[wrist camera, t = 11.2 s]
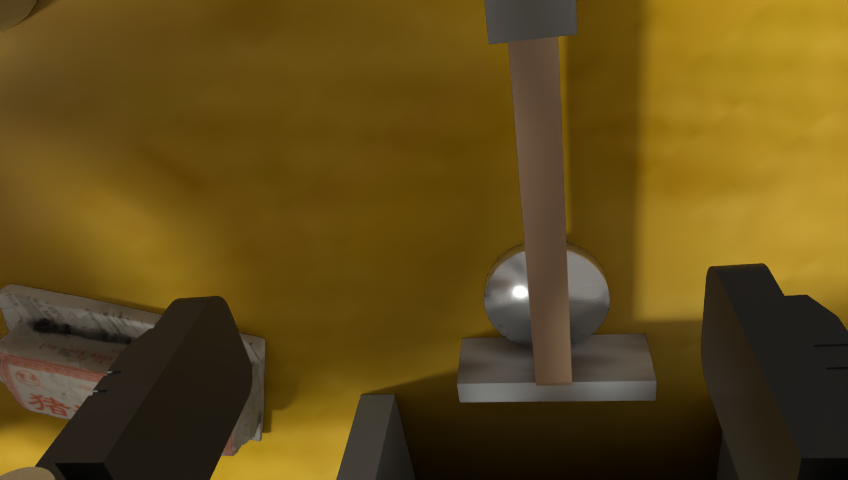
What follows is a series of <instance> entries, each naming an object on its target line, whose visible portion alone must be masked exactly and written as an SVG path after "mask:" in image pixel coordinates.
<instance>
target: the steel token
mask: <svg viewBox="0 0 848 480" xmlns="http://www.w3.org/2000/svg"><path fill="white" fill-rule="evenodd" d="M566 245H567V270H568V295H569V319H570V344H571V345H574V344H577V343H579V342H581V341H583V340H585V339H586V338H588V337H589V336H591V335H592V334H593V333H594V332H595V331H596V330H597V329H598V328H599V327H600V326H601V325H602V323H603V322H604V320H605V318H606V316H607V313H608V310H609V305H610V297H609V290H608V284H607V279H606V276H605V273H604V271H603V269H602V267H601V265H600V264H599V263H598V261H597V260H596V259H595V258H594V257H593V256H592V255H591V254H589V253H588V252H587V251H585V250H584V249H582V248H580V247H578V246H576V245H574V244H571V243H568V242H566ZM484 303H485V309H486V313H487V315H488V318H489V320H490V321H491V323H492V325H493V326H494V327H495V328H496V329H497V330H498V331H499V332H500V333H501V334H502V335H503V336H505V337H506V338H508V339H509V340H511V341H513V342H515V343H517V344H520V345H523V346H526V347H530V348H533V343H532V331H531V318H530V306H529V294H528V281H527V269H526V257H525V244H524V243H522V244H520V245H517V246H515V247H513V248H511V249H509V250H508V251H506V252H505V253H503V254H502V255H501V256H500V257H499V258H498V259H497V260H496V261H495V263H494V264H493V265H492V267H491V269H490V271H489V273H488V275H487V279H486V286H485V298H484Z"/></svg>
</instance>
